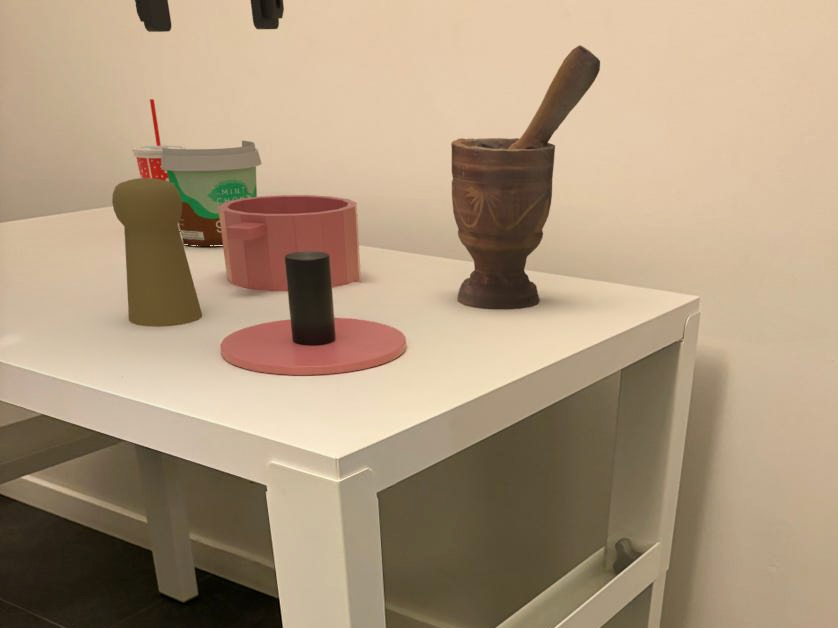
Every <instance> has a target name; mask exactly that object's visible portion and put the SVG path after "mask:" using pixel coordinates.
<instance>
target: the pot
mask: <svg viewBox="0 0 838 628" xmlns="http://www.w3.org/2000/svg"><path fill="white" fill-rule="evenodd" d="M218 209H219V217H220V225H221V233H222V241H223V247H222V248H223V255H224V264H225V271H226V279H227V281H228V282H229V283H230V284H232V285H233V286H236V287H241V288H245V289H248V290H255V291H256V290H257V291H269V292H288V288H287V278H286V267H285V255H287V254H290V253H294V252H304V251H315V252H324V253H327V254H329V256H330V267H331V281H332V288H337V287H340V286H346V285H349V284H351V283H361V259H360V258H361V256H360V254H361V253H360V241H359V240H360V239H359V223H358V221H359V220H358V204H357V202H356V201H353V200H351V199H349V198H343V197H337V196H329V195H314V194H281V195H280V194H278V195H277V194H276V195H260V196H257V197H251V198H243V199H236V200H232V201H228V202H224V203H223V204H221V205H220V206H219V207H218Z"/></svg>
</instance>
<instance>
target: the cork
mask: <svg viewBox="0 0 838 628" xmlns="http://www.w3.org/2000/svg"><path fill="white" fill-rule="evenodd" d="M111 203H112V207H113V211H114V214H115V216H116V219H117V220H118V222H120V223H121V224H122V226H123V227H124V228H123V229H124V248H125V249H124V251H125V269H126V287H127V288H126V290H127V291H126V292H127V308H128V310H127V311H128V321H129V322H130V323H131V324H133V325H136V326H142V327H157V328H158V327H160V328H161V327H173V326H182V325H186V324H191V323H194V322H196V321H199V320H200V319H202V317H203V313H202V310H201V306H200V302H199V298H198V294H197V290H196V286H195V283H194V279H193V276H192V272H191V269H190V265H189V262H188V258H187V254H186V250H185V245H184V244H183V239H182V235H181V231H180V232H179V228H178V222H179V220H180V218H181V214H182V201H181V197H180V194H179V192H178V190H177V189H176V187H175V186H174V185H173V184H172V183H170V182H168V181H164V180H160V179H153V178H141V177H139V178H132V179H129V180H125V181H122V182H119V183H118V184H117V185H116V186H115V187H114V189H113V191H112V199H111Z"/></svg>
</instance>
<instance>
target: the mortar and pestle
mask: <svg viewBox="0 0 838 628" xmlns="http://www.w3.org/2000/svg"><path fill="white" fill-rule="evenodd" d="M600 69H601V60H600V59H599V58H598V57H597V56H596V55H594V53H593V52H592V51H590V49H588V48H586V47H584V46H583V45H580V44H579V45H577V46H576V47H575V48H573V49H572V50H571V51H570V52H569V53H568V55H566V57H565V58H564V59H563V61H562V63H561V65H560V66H559V68H558V70H557V71H556V73H555V75H554V77H553V79H552V81H551V83H550V84H549V86H548V88H547V90H546V92H545V95H544V97H543V99H542V101H541V103H540V105H539V107H538V109H537V111H536V112H535V114H534V116H533V117H532V119H531V120H530V123H529V124H528V126H527V127H526V129H525V131H524V132H523V133H522V135H521V136H520V137H519V138H518V137H515V138H504V137H503V138H502V137H497V138H496V137H495V138H494V137H493V138H492V137H488V138H483V137H482V138H481V137H479V138H463V137H461V138H457V139H455V140H452V141H451V175H452V180H451V201H452V214H453V216H454V217H453V218H454V220H455V224H456V227H457V236H458V239H459V242H460V243H461V244H462V246H464V247H465V249H466V250H467V252H468V253H469V256H471V258H472V260H473V266H474V270H473V271H472V272H471V273H470V274H469V277H467V278H465V279H464V280H463V281H462V282H461V284H460V287H459V289H458V293H457V303H458V304H459V303H460V305H463V306H465V307H469V308H474V309H480V310H497V311H499V310H500V311H502V310H507V311H508V310H521V309H526V308H532V307H534V306H537V305H538V304H539V303H540V297H539V292H538V287H537V285H536V283H534V281H531V280H530V277H529V276H528V274H527V273H526V272H525V268H526V264H527V259H528V257H529V255H531V254H532V253H533V252H535V250H536V249H537V248H538V247H539V245H540V244H541V242H542V240H543V238H544V232H543V231H544V230H543V229H544V227H545V224H546V222H547V221H548V218H549V215H550V210H551V206H552V198H553V179H554V178H553V177H554V176H553V175H554V165H555V155H556V154H555V152H556V145H555V144H552V143H550V142H549V141H550V140H551V138H552V136H553V135H554V133H555V132H556V131H557V130H558V129H559V127H560V126H561V125H562V123H563V122H564V121H565V119H566V118H567V117H568V115H569V114H570V113H571V112H572V111H573V110H574V108H575V107H576V106H577V105H578V103H580V101H581V100H582V98H583V97H584V96H585V95H586V93H587V92H588V91H589V90H590V88H591V87H592V86H593V84H594V82H595V81H596V79H597V77H598V75H599V73H600Z"/></svg>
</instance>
